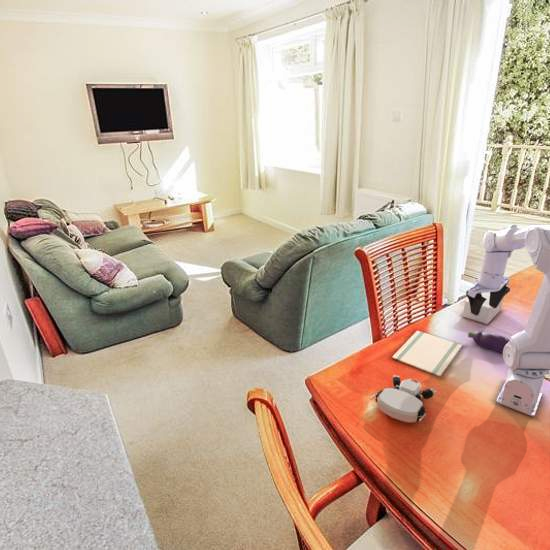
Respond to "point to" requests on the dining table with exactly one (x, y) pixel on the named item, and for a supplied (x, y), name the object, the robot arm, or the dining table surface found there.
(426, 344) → the towel
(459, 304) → the dining table surface
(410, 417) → the robot toy
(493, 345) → the eggplant
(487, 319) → the small box
